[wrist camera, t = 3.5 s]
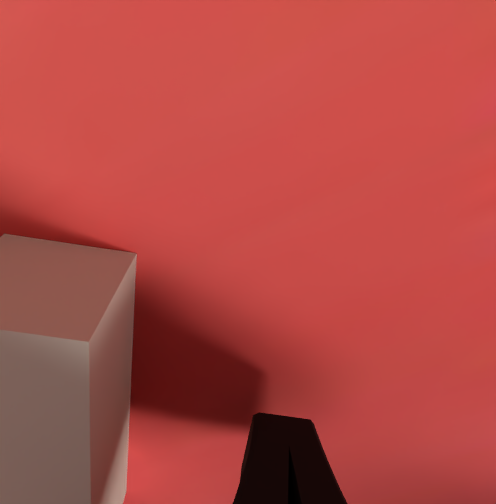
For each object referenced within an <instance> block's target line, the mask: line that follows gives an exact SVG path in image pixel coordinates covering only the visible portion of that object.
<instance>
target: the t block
mask: <svg viewBox="0 0 496 504" xmlns="http://www.w3.org/2000/svg"><path fill="white" fill-rule="evenodd" d="M136 257H137V253H131V252H125V251H118V250H111V249H104V248H98V247H91V246H84V245H78V244H71V243H64V242H57V241H51V240H44V239H37V238H31V237H24V236H17V235H10V234H3V235H2V236H1V237H0V504H123V501H124V498H125V494H126V485H127V462H128V439H129V417H130V394H131V371H132V348H133V325H134V303H135V280H136Z"/></svg>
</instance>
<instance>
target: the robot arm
mask: <svg viewBox="0 0 496 504" xmlns="http://www.w3.org/2000/svg"><path fill="white" fill-rule="evenodd" d="M233 504H347V502H346V500H345V498H344V496H343V494H342V492H341V490H340V487H339V485H338V483H337V481H336V479H335V476H334V474H333V472H332V469H331V467H330V465H329V462H328V460H327V457H326V455H325V453H324V450H323V448H322V445H321V442H320V440H319V437H318V434H317V432H316V429H315V426H314V424H313V422H312V421H311V420H309V419H302V418H295V417H288V416H281V415H273V414H266V413H257V414H255V415H253V418H252V423H251V427H250V432H249V436H248V441H247V445H246V450H245V454H244V459H243V463H242V469H241V478H240V484H239V487H238V490H237V493H236V496H235V499H234V502H233Z"/></svg>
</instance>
